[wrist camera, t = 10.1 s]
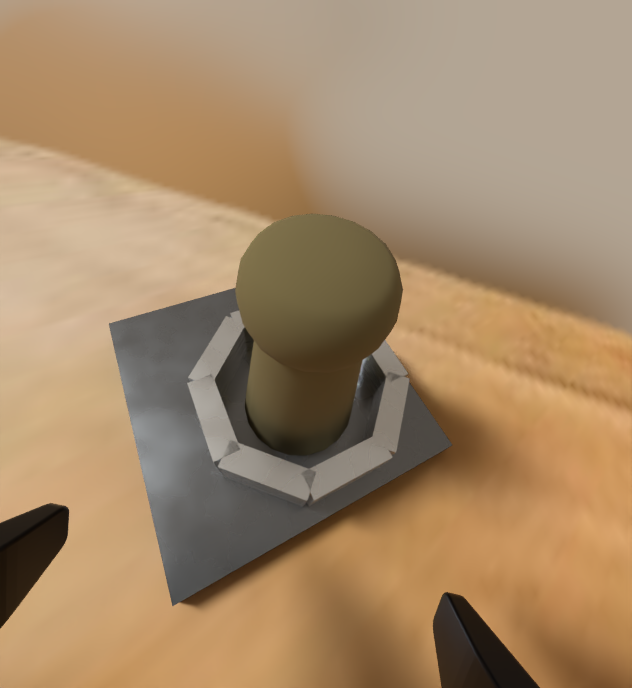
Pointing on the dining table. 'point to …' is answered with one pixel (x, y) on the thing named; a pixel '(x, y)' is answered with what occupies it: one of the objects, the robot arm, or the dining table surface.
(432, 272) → the dining table surface
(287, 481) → the socket block
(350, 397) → the cork
